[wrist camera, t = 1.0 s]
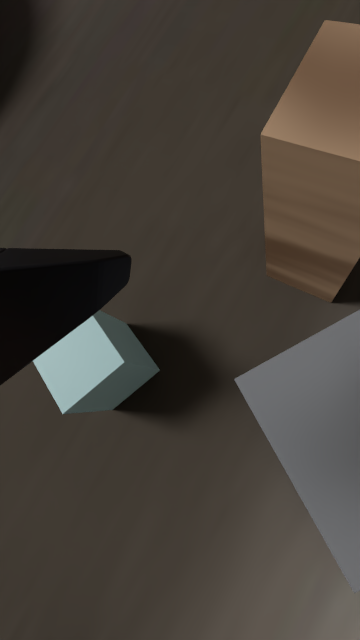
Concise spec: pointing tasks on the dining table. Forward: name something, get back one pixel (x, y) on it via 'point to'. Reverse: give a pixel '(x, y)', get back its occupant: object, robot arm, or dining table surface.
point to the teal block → (95, 366)
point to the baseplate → (317, 430)
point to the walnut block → (315, 167)
